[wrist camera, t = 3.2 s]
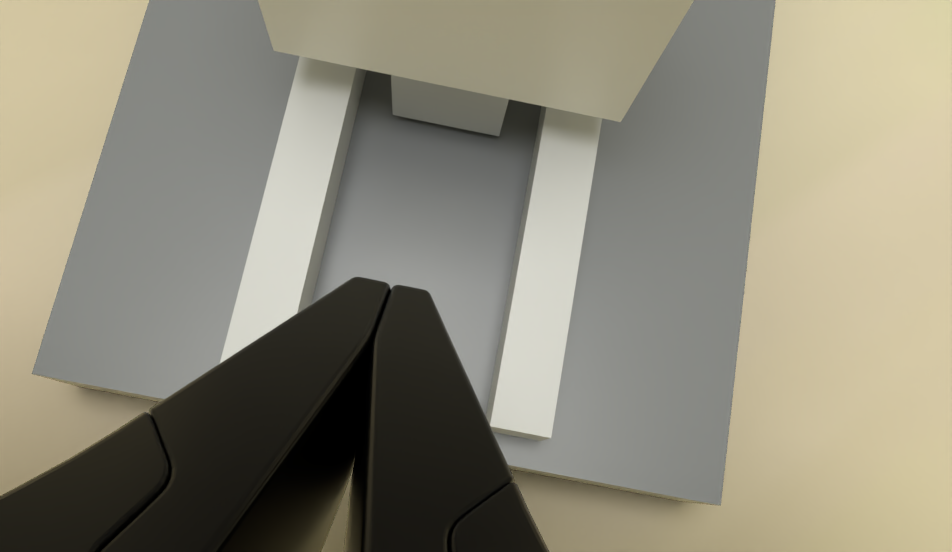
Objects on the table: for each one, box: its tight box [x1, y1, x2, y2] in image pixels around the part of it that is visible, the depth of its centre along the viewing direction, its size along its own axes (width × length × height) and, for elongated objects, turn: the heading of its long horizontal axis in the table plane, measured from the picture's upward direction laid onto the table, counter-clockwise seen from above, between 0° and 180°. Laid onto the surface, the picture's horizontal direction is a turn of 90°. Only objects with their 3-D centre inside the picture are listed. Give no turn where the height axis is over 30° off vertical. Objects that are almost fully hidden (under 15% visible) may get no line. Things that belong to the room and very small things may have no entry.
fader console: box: [32, 0, 775, 506], centre depth 17 cm, size 16×12×3 cm
